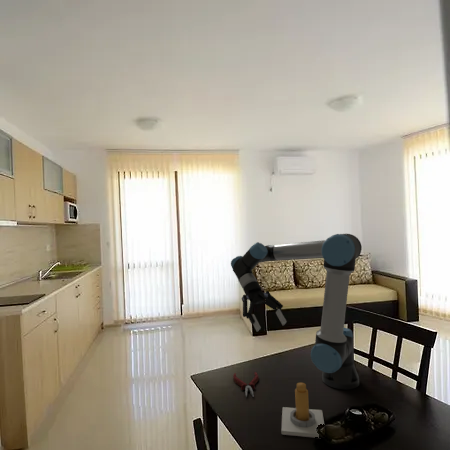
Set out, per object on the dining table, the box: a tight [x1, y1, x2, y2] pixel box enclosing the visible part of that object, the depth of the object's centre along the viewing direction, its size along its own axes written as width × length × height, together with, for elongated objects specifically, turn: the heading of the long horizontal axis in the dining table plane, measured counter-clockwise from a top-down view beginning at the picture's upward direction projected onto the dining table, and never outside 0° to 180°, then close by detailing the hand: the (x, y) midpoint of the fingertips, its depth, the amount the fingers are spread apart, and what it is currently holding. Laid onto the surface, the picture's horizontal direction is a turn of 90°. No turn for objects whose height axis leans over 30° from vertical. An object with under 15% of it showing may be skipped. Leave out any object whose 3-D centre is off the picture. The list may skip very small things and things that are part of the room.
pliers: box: [232, 371, 260, 399], centre depth 136 cm, size 12×20×3 cm, turn 2°
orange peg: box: [294, 382, 310, 421], centre depth 109 cm, size 4×4×12 cm
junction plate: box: [281, 406, 325, 439], centre depth 109 cm, size 14×14×3 cm
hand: (272, 326), depth 132 cm, fingers open, 13 cm apart
